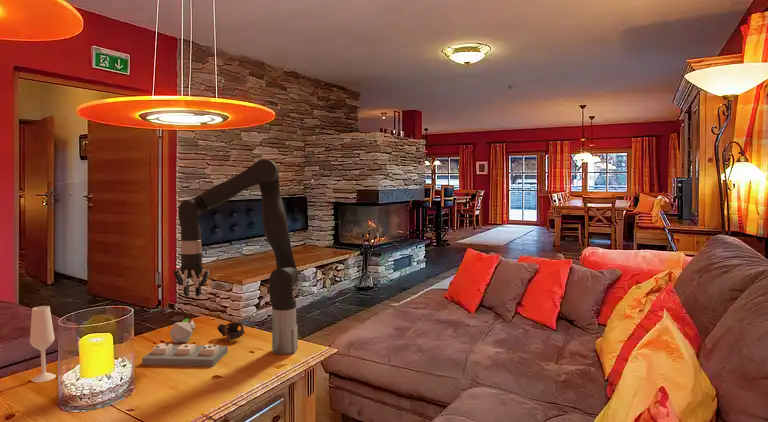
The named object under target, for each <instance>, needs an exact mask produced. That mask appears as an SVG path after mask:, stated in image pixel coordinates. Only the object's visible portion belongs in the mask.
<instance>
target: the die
mask: <svg viewBox="0 0 768 422" xmlns="http://www.w3.org/2000/svg"><path fill="white" fill-rule="evenodd" d="M193 333H194V330H193V331H192V329H191V327H190V324H189V322H182V321H179V322H174V324H173V325H172V327H171V329H170V331H169V335H170V337H171V339H172V342H173V343H174V344H178V343H179V344H182V343H183V344H185V343H188V342H189V340H190V339H191V336H192V334H193Z"/></svg>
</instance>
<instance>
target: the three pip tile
mask: <svg viewBox="0 0 768 422" xmlns="http://www.w3.org/2000/svg"><path fill="white" fill-rule="evenodd" d="M219 346H220V344H205V346H204V347H203V348H201V349H200V350H201V355H216V354H217V353H218V352H219Z"/></svg>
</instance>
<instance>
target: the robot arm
mask: <svg viewBox="0 0 768 422" xmlns="http://www.w3.org/2000/svg"><path fill="white" fill-rule="evenodd" d="M279 176H280V174H279V168H278V166H277V164H276V163H275V162H274V161H273V160H272V159H271V160H270V159H269V158H260V159H258V160H257V161H255V163H253V164H251V165H250V166H249V167H248V168H246V169H245V170H243V171H242V172H240V173H238V174H236V175H234V176H233V177H231V178H228V179H227V180H225V181H222V182H220V183H218V184H217V185H214V186H212V187H210V188H207V189H205V190H204V191H203V192H202V193H200V194H199V195H196V196H194V197H192V198H190V199H185V200H182V201H181V202H180V203H179V205H178V209H177V210H178V211H177V214H178V222H179V225H180V265H181V266H180V268H178V269H175V270H173V273H172V274H173V275H174V277H175V280H176V282H177V285H178V286H182V287H183V295H184V297H186V298H187V297H189V296H190V285H189V284H190V280H191V279H193V282H194V285H195V298H198V297H200V296H201V295H202V286H205V285H206V284H207V281H208V279H209V276H210V273H211V270H210V269H208V270H207V269H205V268H204V267H203V245H202V229H201V226H200V225H199V216H200V215H202V214H204V213H205V212H207V211H209V210H210V209H214V208H215V207H217V206H220V205H221V204H224V203H226V202H227V201H229V200H231V199H232V198H234V197H236V196H237V195H238V194H240V193H242V192H243V191H245V190H247V189H250V188H252V187H253V186H256V185H258V186H259V191H260V195H261V221H262V226H263V231H264V236H265V238H266V240H267V242H268V245H270V248H271V250H272V252H273V254H274V257H275V263H276V265H275V266H276V268H275V269H274V270H272V271H271V273H270V275H269V280H268V283H269V284H268V287H269V299H270V300H269V301H270V304H271V339H272V341H271V342H272V348H271V349H272V353H273V354H276V355H289V354H295V353H296V351H297V350H298V348H299V345H298V344H299V343H298V340H299V337H298V334H299V333H298V331H299V329H298V326H299V325H298V324H297V300H296V298H294V297H293V293H294V292H293V287H294V286H296V285H297V284H298V281H299V271H298V268H297V264H296V262H295V258H294V254H293V250H292V243H291V236H290V231H289V229H290V228H289V224H288V220H287V214H286V210H285V209H286V208H285V205H284V202H283V198H282V195H281V188H280V177H279ZM201 274H202V278H201ZM182 275H183V276H182Z"/></svg>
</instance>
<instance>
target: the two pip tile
mask: <svg viewBox="0 0 768 422" xmlns="http://www.w3.org/2000/svg"><path fill="white" fill-rule="evenodd" d="M173 345H174V344H173V343H158V344H157V345H156V346H154V347H153V348H152V351H153V354H168V353H169V352H171V351H172V350H173Z"/></svg>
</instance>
